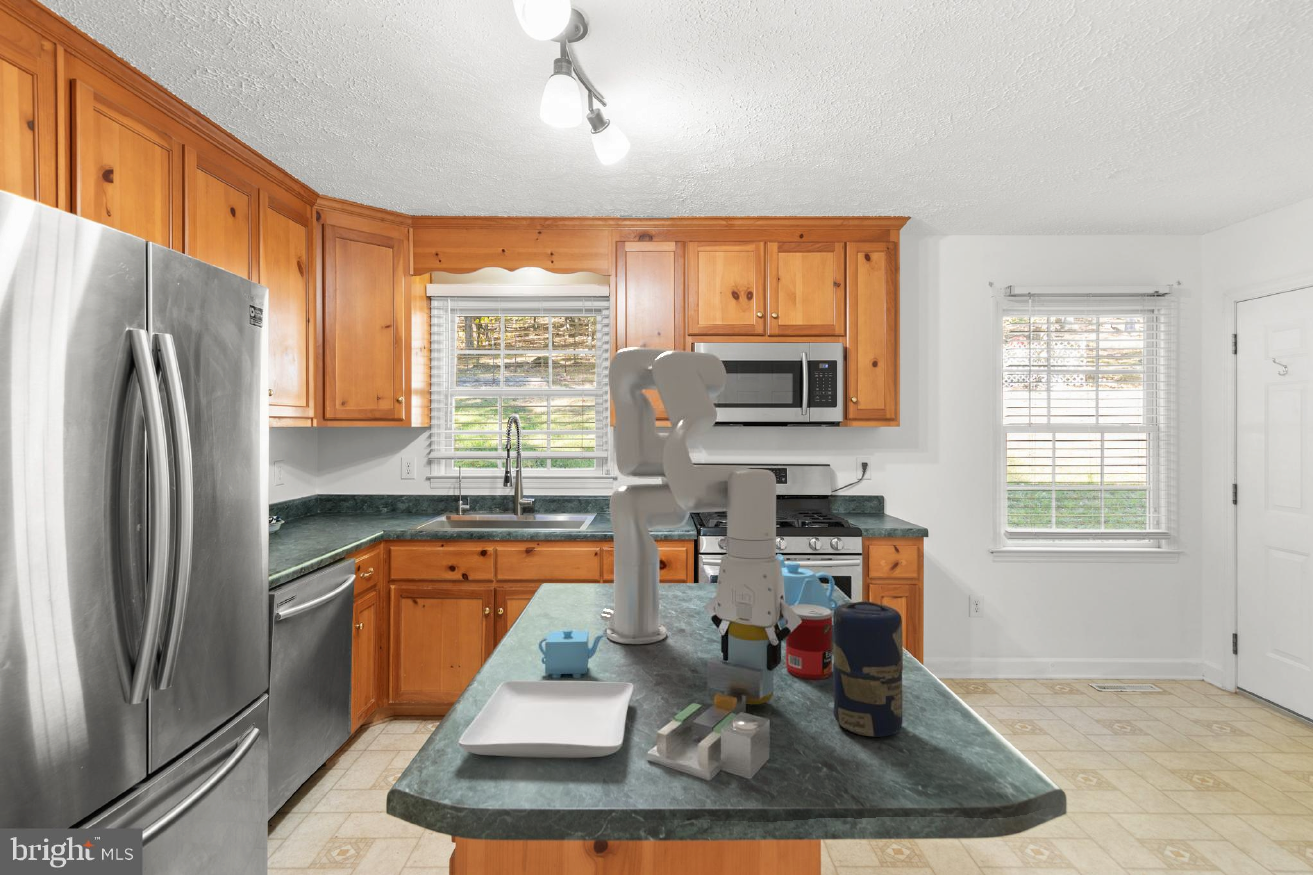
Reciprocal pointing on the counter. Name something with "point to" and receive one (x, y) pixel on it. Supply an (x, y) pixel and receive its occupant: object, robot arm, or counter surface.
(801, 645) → the canned food
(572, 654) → the teapot
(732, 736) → the gauge body
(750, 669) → the grey t-shaped piece
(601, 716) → the salad plate
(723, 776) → the counter surface
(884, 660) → the canister
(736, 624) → the bottle
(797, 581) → the teapot
